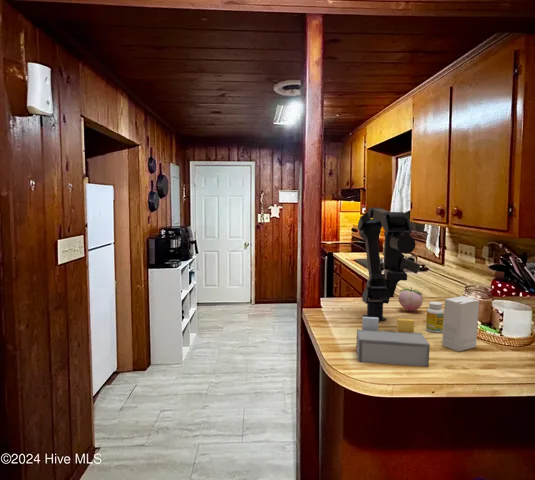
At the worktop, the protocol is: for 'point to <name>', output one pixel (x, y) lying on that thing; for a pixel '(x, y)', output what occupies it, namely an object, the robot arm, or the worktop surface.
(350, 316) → the worktop surface
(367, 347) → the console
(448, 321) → the skincare box
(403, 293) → the decorative fruit
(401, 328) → the mustard button
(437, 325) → the supplement bottle
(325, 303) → the worktop surface
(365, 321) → the light gray button
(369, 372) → the worktop surface
